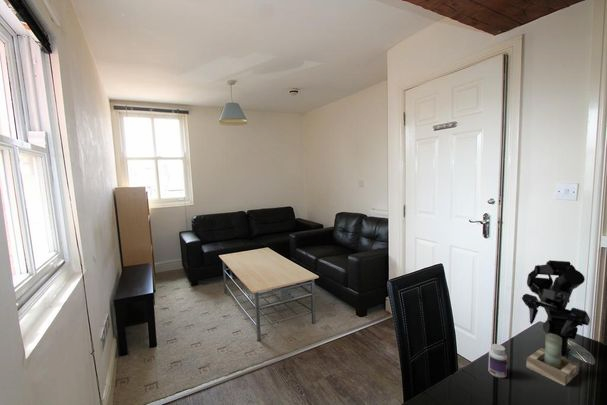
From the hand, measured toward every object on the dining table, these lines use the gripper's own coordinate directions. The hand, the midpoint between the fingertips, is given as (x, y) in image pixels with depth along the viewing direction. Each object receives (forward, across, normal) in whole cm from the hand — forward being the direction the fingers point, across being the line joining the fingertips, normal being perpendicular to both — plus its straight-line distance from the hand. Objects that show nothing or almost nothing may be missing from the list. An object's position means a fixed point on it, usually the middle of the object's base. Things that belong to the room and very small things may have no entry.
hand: (545, 328), depth 107 cm
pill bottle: (+23, -6, -3) cm, 24 cm away
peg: (+11, +3, +9) cm, 14 cm away
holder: (+11, +3, +8) cm, 14 cm away
